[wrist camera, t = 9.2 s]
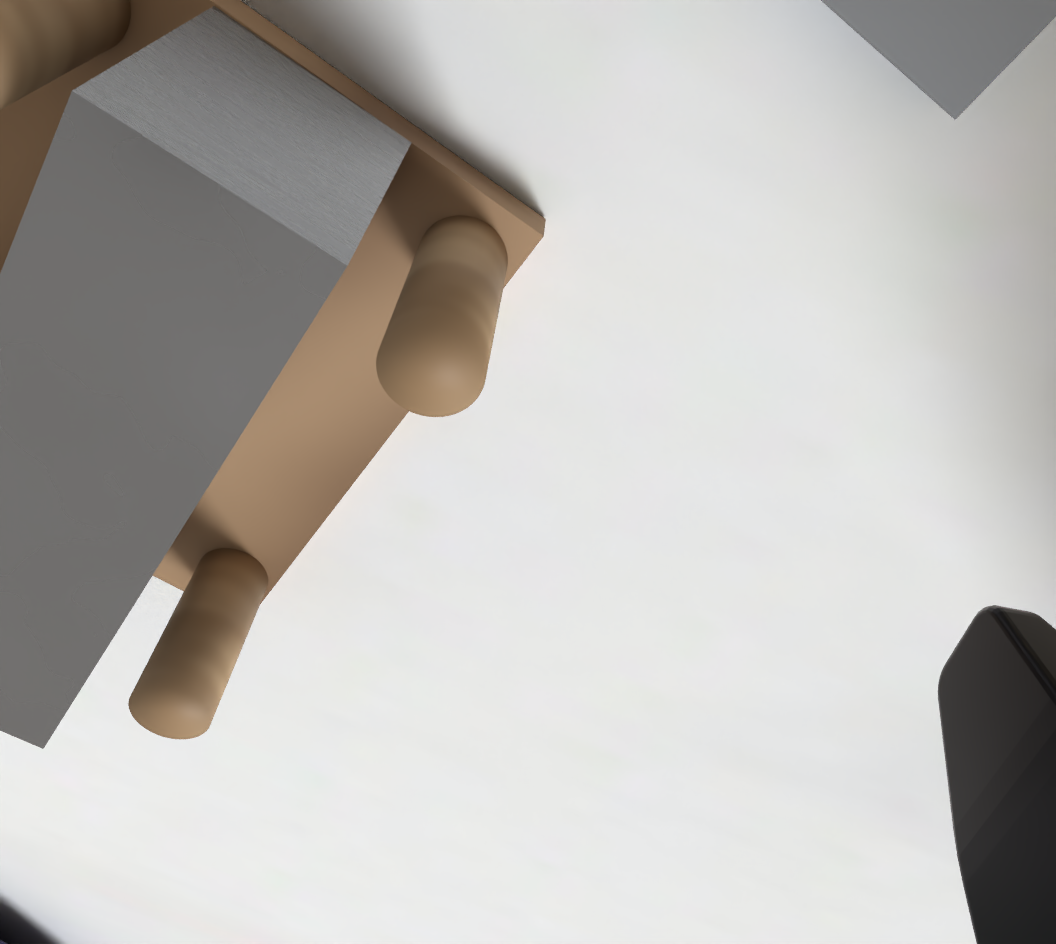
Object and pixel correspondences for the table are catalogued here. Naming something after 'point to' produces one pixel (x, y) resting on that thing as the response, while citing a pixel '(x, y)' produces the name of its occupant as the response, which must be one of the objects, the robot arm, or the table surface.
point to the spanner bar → (156, 322)
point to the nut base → (948, 40)
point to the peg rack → (318, 360)
